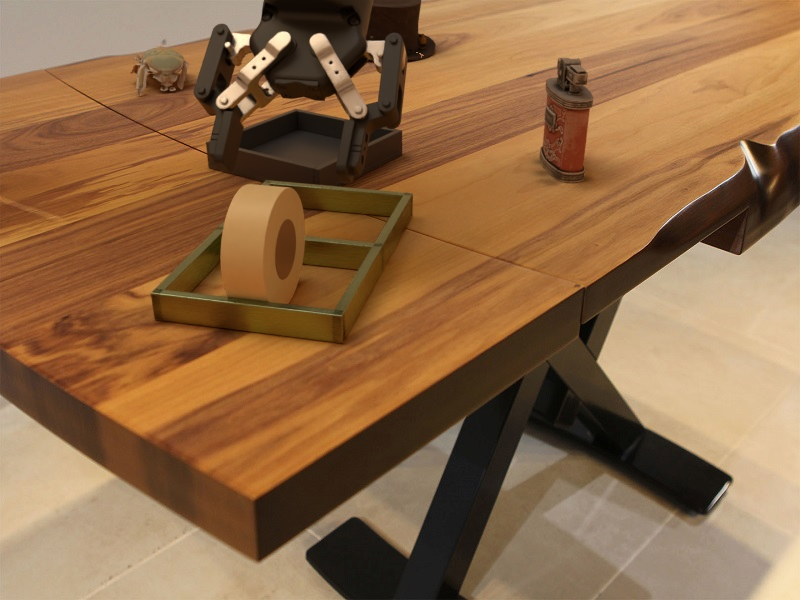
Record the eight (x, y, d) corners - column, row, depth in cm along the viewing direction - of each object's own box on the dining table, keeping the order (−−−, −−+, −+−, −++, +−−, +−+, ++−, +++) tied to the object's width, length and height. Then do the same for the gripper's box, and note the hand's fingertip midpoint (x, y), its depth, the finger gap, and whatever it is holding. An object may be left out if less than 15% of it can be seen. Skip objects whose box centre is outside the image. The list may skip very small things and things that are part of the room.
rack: (154, 320, 55) (150, 292, 55) (267, 201, 73) (265, 179, 72) (342, 343, 53) (342, 315, 52) (412, 215, 71) (413, 192, 70)
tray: (208, 167, 80) (205, 142, 79) (296, 131, 90) (295, 108, 89) (320, 197, 74) (319, 169, 73) (402, 154, 84) (402, 130, 83)
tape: (235, 330, 56) (209, 239, 51) (273, 249, 62) (253, 158, 56) (277, 335, 56) (255, 244, 50) (311, 253, 61) (295, 162, 55)
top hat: (379, 35, 133) (379, -37, 128) (456, 50, 124) (459, -27, 119) (309, 51, 123) (305, -26, 118) (387, 68, 114) (386, -14, 109)
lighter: (533, 153, 84) (541, 50, 80) (566, 152, 85) (577, 49, 80) (555, 183, 77) (565, 72, 73) (591, 181, 78) (604, 71, 73)
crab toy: (97, 82, 103) (100, 40, 101) (155, 78, 113) (159, 40, 111) (155, 102, 101) (160, 59, 99) (210, 96, 110) (215, 57, 108)
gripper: (215, -72, 59) (161, 139, 55) (416, -66, 57) (375, 156, 52) (249, -4, 67) (204, 187, 62) (429, 4, 64) (395, 204, 60)
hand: (282, 173), depth 57 cm, fingers open, 8 cm apart
